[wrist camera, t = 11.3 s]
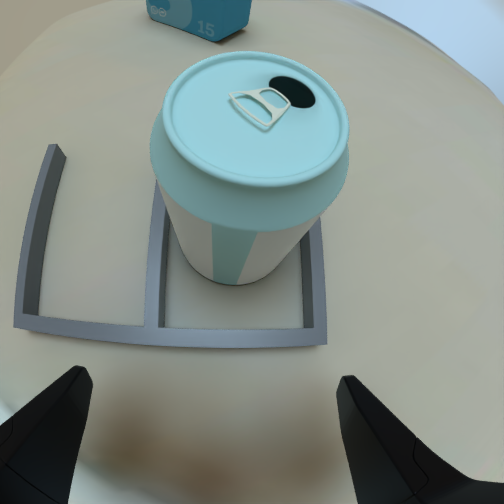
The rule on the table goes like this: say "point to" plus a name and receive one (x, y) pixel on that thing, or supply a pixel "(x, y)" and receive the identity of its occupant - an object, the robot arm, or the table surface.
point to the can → (247, 160)
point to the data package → (202, 16)
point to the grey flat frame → (155, 284)
